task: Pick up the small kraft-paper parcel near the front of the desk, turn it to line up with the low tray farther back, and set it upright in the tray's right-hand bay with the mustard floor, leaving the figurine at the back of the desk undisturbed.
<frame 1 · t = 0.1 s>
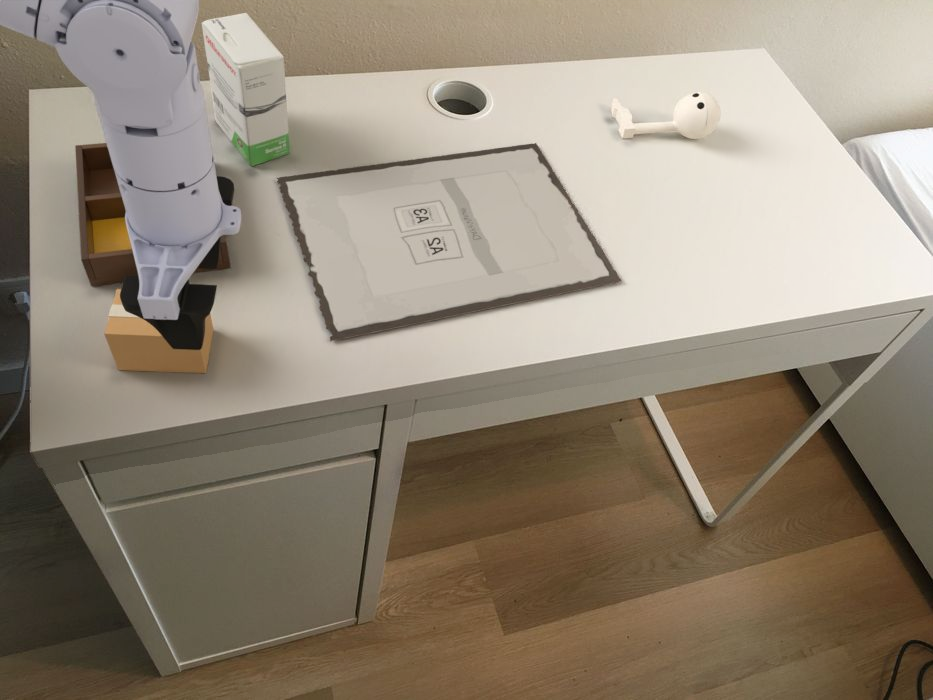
hand: (195, 303, 56), 9 cm above the table, tool pointing down, fingers open, 7 cm apart
parcel: (167, 349, 65), on the table
tray: (155, 219, 73), on the table
figurine: (660, 128, 94), on the table
ink box: (252, 139, 82), on the table
picture frame: (446, 231, 78), on the table
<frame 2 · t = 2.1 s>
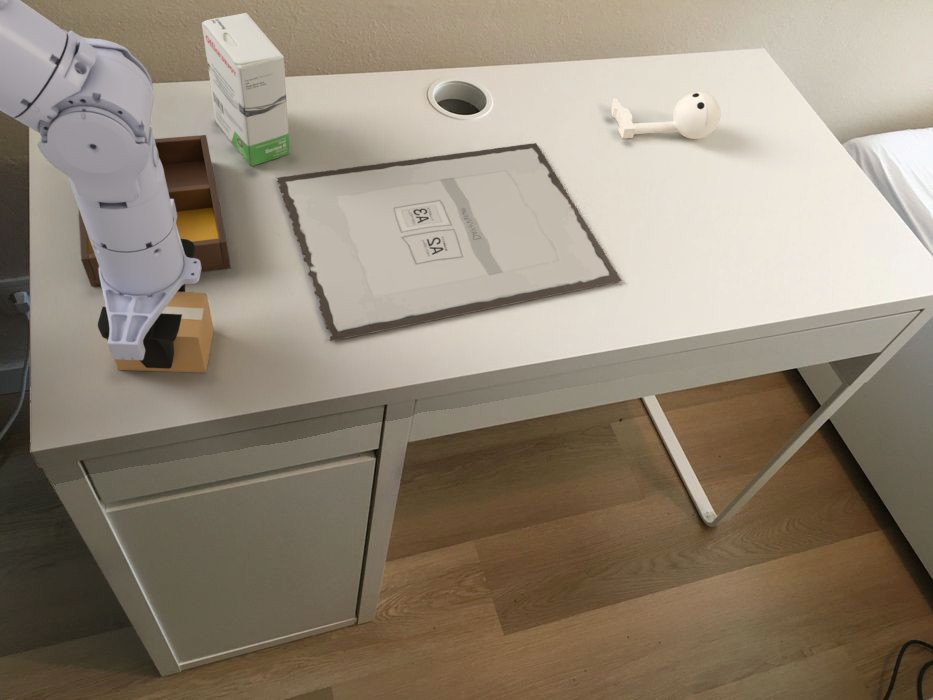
hand: (164, 339, 64), 1 cm above the table, tool pointing down, fingers closed on parcel, 4 cm apart
parcel: (167, 349, 65), on the table, touching gripper
everything else where it was.
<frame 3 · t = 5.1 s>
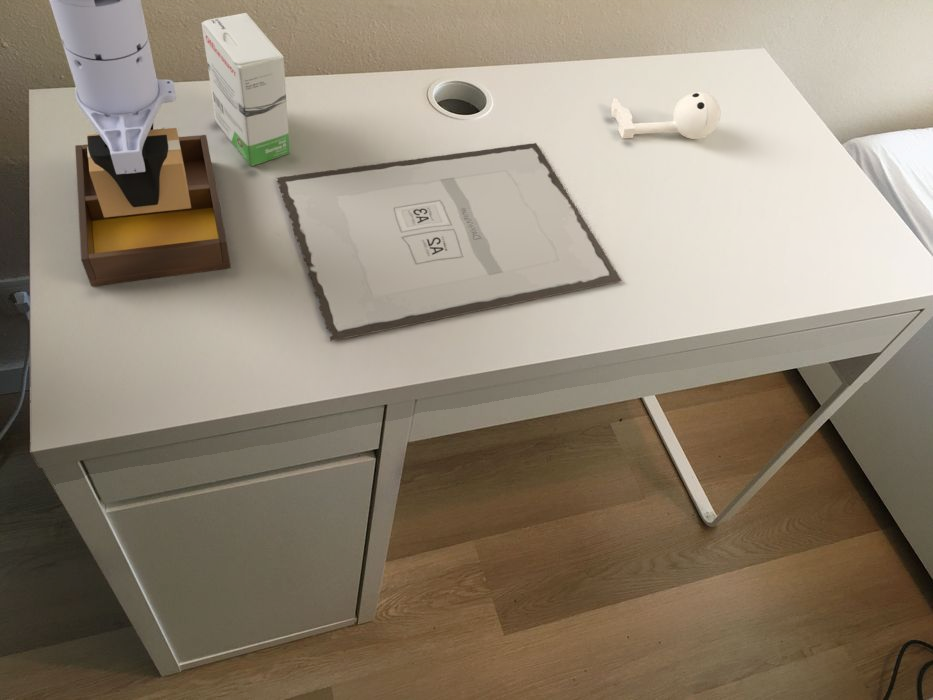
hand: (142, 182, 65), 8 cm above the table, tool pointing down, fingers closed on parcel, 4 cm apart
parcel: (146, 194, 66), point 6 cm above the table, touching gripper
everything else where it was.
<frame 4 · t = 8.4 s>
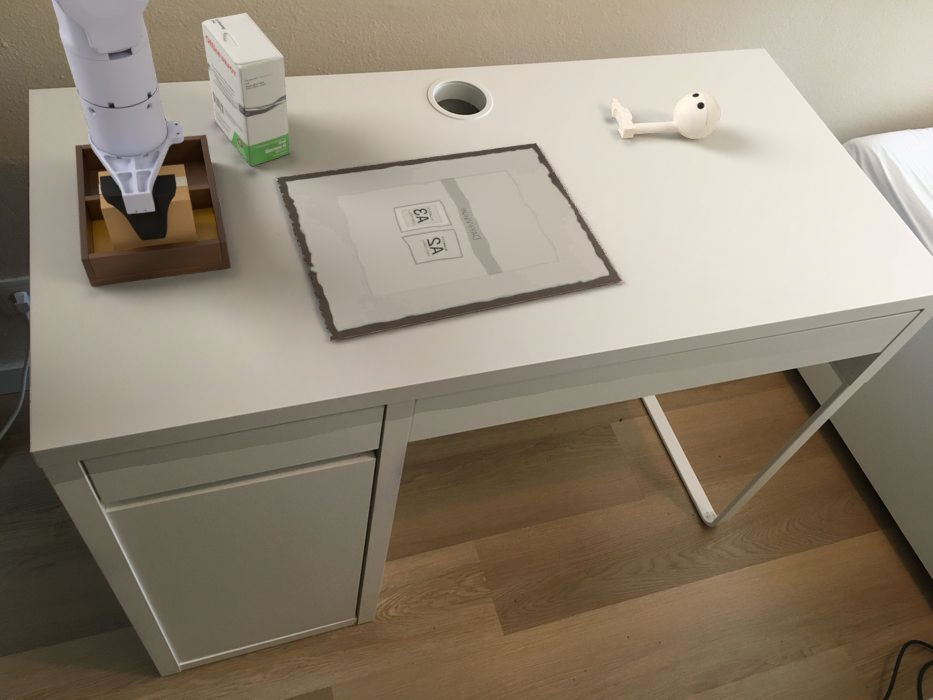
hand: (151, 216, 68), 4 cm above the table, tool pointing down, fingers closed on parcel, 4 cm apart
parcel: (154, 227, 69), point 2 cm above the table, touching gripper
everything else where it was.
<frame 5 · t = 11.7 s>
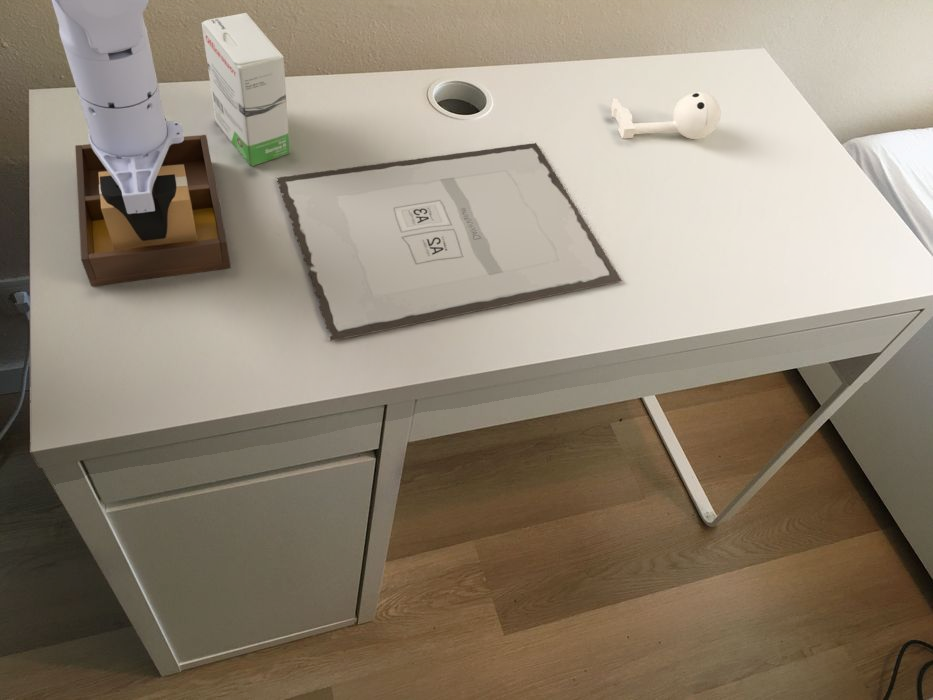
hand: (151, 216, 68), 4 cm above the table, tool pointing down, fingers closed on parcel, 4 cm apart
parcel: (154, 227, 69), point 2 cm above the table, touching gripper
everything else where it was.
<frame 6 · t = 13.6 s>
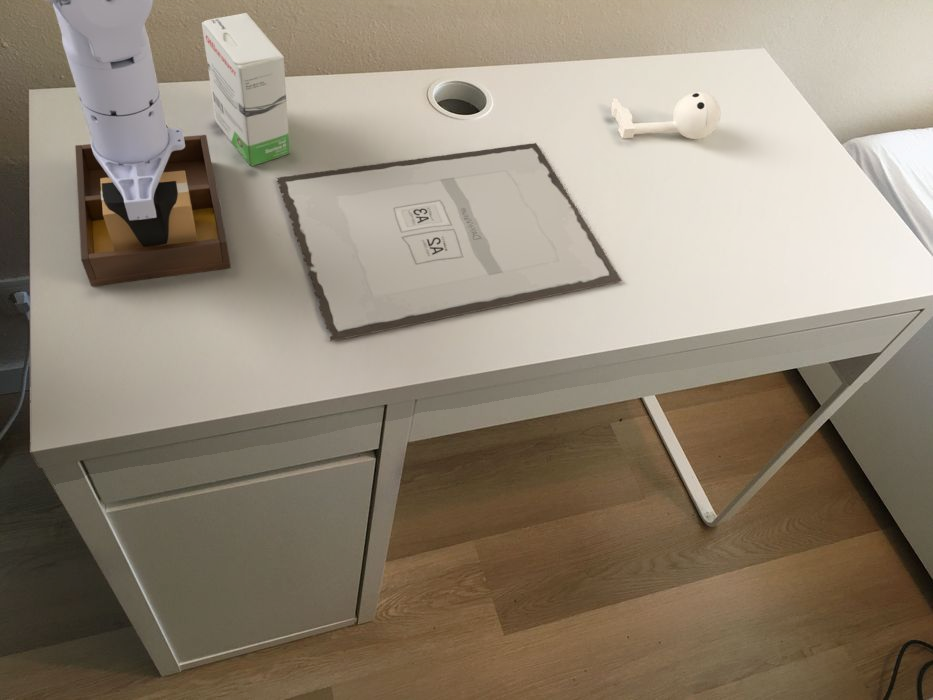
hand: (152, 221, 69), 3 cm above the table, tool pointing down, fingers closed on parcel, 5 cm apart
parcel: (155, 232, 70), point 2 cm above the table, touching gripper
everything else where it was.
when the fingers open (4 cm above the table, at t = 14.9 s): parcel drops 1 cm, resting on tray.
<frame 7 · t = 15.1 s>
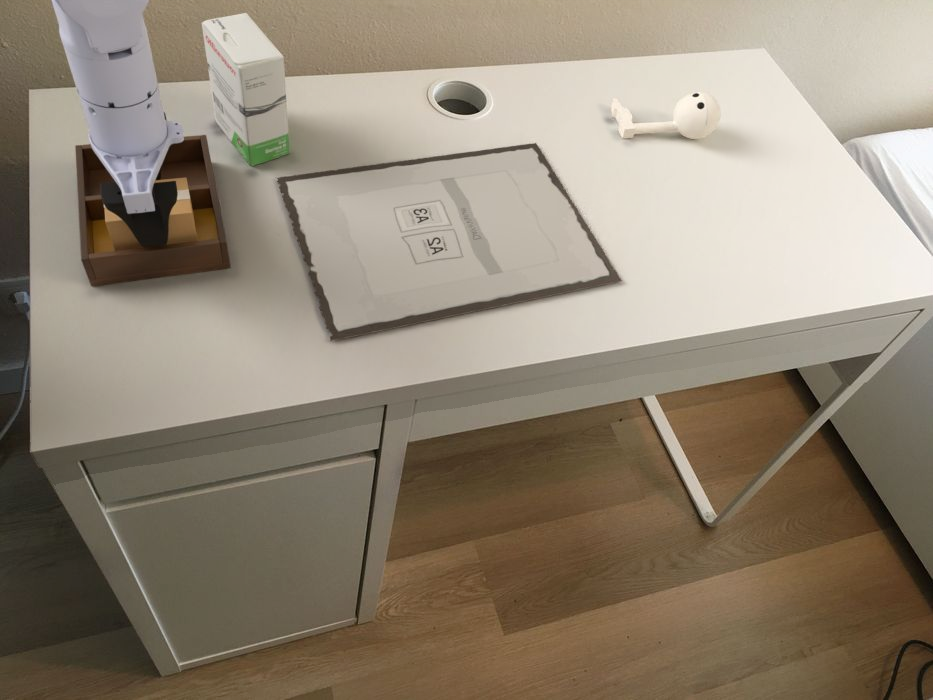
hand: (151, 216, 68), 4 cm above the table, tool pointing down, fingers open, 6 cm apart
parcel: (157, 239, 71), point 1 cm above the table, touching tray
everything else where it was.
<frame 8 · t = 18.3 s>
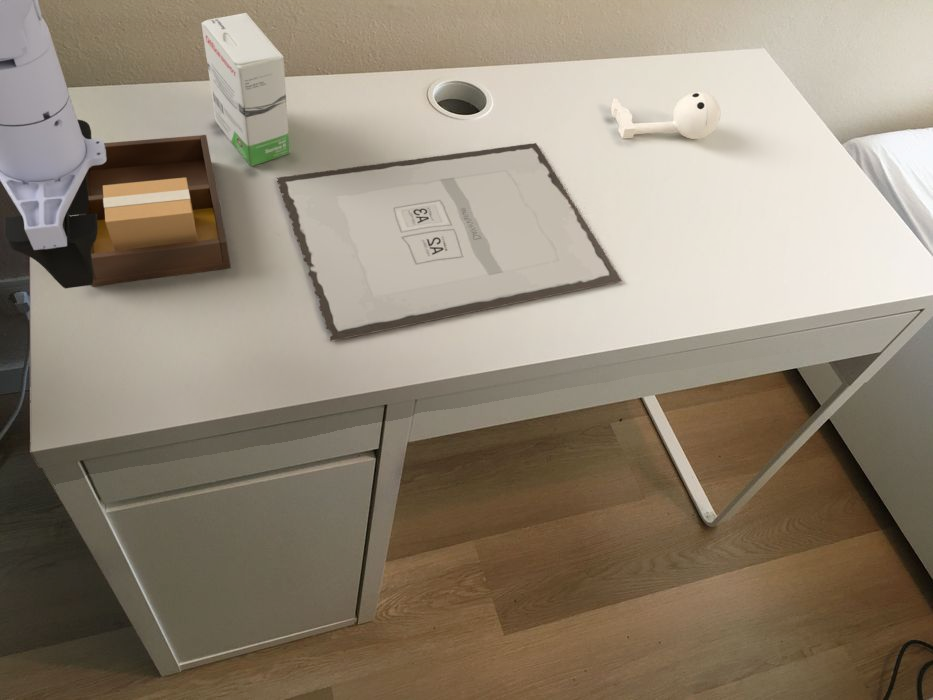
hand: (76, 246, 59), 8 cm above the table, tool pointing down, fingers open, 7 cm apart
nothing on the table moved.
at the end: parcel 0.1 cm from the target spot on the tray, point 1.0 cm above the tray's base; parcel tilted 0°; figurine moved 0.2 cm from its start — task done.
